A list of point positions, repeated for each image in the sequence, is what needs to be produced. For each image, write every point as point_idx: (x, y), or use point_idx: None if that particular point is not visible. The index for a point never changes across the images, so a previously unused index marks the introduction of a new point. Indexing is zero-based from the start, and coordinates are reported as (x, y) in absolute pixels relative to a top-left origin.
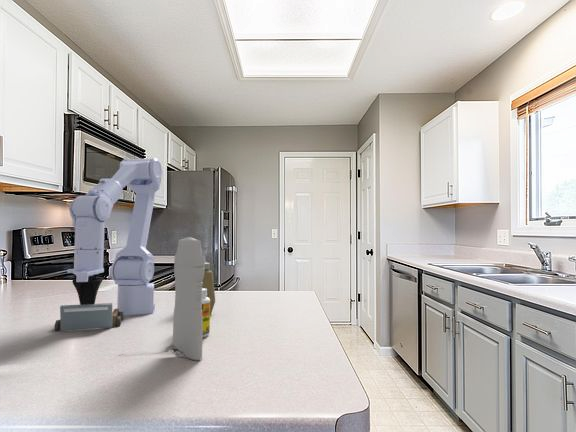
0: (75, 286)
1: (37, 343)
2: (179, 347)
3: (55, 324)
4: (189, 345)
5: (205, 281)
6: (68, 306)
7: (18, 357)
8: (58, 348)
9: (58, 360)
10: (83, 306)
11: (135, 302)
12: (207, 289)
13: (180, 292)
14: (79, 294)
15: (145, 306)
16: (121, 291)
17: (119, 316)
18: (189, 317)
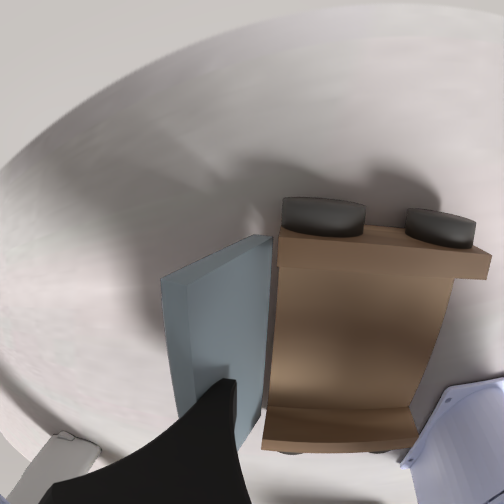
0: (80, 479)
1: (190, 150)
2: (59, 442)
3: (290, 205)
4: (45, 446)
5: None
6: (172, 334)
7: (57, 152)
8: (106, 246)
9: (29, 263)
10: (179, 404)
11: (438, 476)
12: None
13: (17, 500)
14: (148, 449)
15: (424, 479)
16: (488, 476)
17: (287, 452)
18: (25, 472)
